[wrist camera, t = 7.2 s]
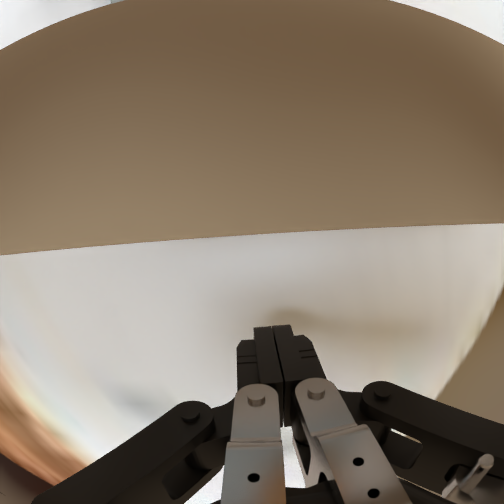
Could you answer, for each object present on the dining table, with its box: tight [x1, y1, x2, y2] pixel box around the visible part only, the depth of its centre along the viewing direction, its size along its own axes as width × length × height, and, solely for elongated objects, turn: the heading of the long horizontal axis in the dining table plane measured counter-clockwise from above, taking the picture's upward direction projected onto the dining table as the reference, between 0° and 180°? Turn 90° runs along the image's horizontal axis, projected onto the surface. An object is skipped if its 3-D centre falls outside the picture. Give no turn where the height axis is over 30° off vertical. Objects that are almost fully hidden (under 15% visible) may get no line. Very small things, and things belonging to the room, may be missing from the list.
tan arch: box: [0, 0, 504, 255], centre depth 8 cm, size 3×15×10 cm, turn 93°
